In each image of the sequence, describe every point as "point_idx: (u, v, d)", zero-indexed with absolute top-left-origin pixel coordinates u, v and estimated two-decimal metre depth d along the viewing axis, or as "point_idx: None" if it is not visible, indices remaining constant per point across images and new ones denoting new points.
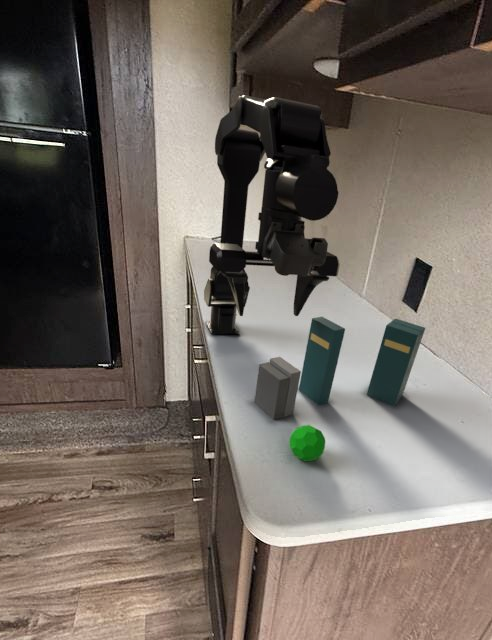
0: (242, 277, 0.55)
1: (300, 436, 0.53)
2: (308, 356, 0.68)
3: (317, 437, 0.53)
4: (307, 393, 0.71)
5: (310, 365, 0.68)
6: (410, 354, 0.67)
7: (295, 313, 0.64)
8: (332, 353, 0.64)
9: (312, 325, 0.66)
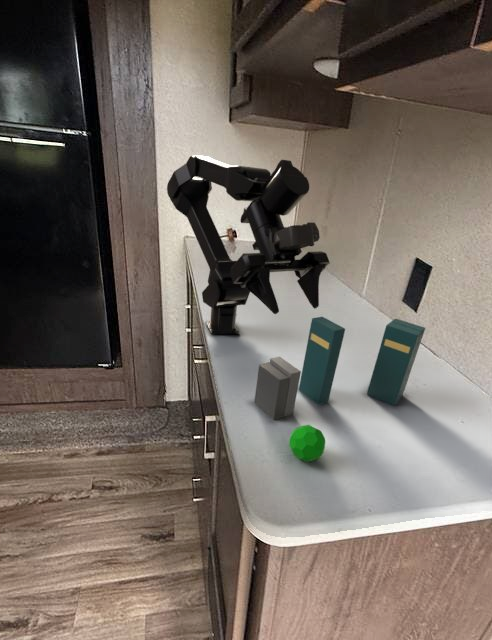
0: (267, 270, 0.65)
1: (300, 436, 0.53)
2: (308, 356, 0.68)
3: (317, 437, 0.53)
4: (307, 393, 0.71)
5: (310, 365, 0.68)
6: (410, 354, 0.67)
7: (315, 305, 0.72)
8: (332, 353, 0.64)
9: (312, 325, 0.66)
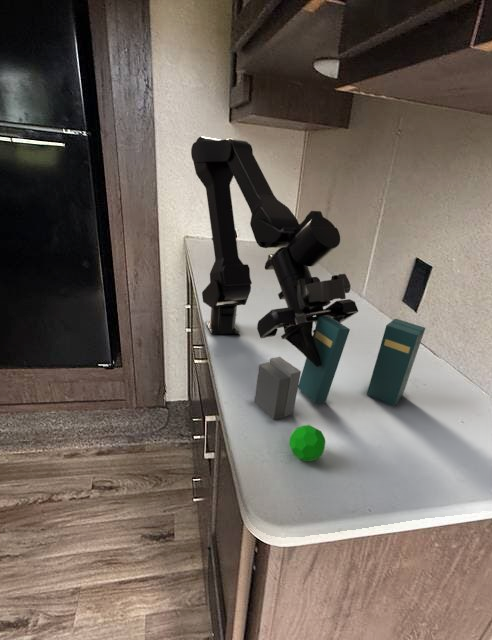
0: (310, 323, 0.64)
1: (300, 436, 0.53)
2: None
3: (317, 437, 0.53)
4: (305, 391, 0.70)
5: (311, 363, 0.69)
6: (410, 354, 0.67)
7: None
8: (334, 352, 0.65)
9: (318, 323, 0.66)
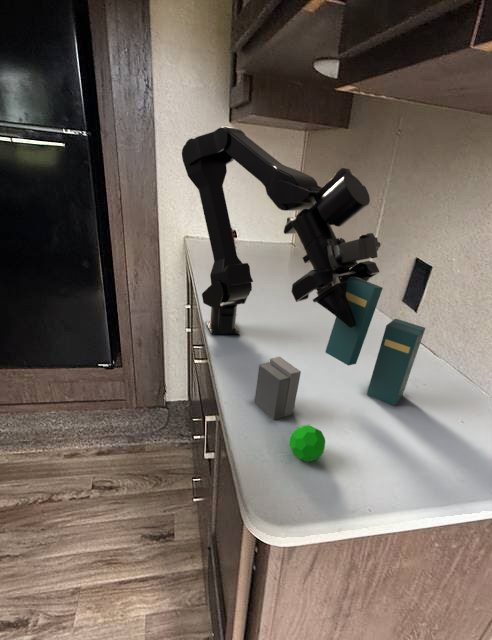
0: (345, 284, 0.64)
1: (300, 436, 0.53)
2: None
3: (317, 437, 0.53)
4: (335, 355, 0.70)
5: (341, 325, 0.69)
6: (410, 354, 0.67)
7: None
8: (368, 312, 0.65)
9: (348, 284, 0.66)
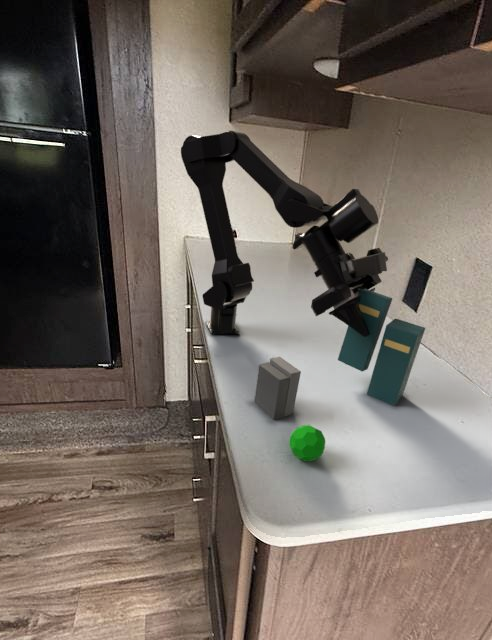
0: (359, 297, 0.68)
1: (300, 436, 0.53)
2: None
3: (317, 437, 0.53)
4: (348, 362, 0.75)
5: (354, 335, 0.73)
6: (410, 354, 0.67)
7: None
8: (381, 321, 0.70)
9: None
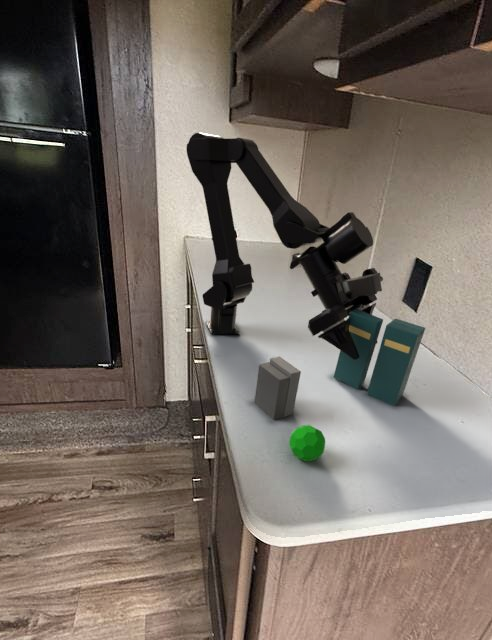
0: (349, 320, 0.67)
1: (300, 436, 0.53)
2: None
3: (317, 437, 0.53)
4: (343, 380, 0.77)
5: None
6: (410, 354, 0.67)
7: None
8: (372, 343, 0.71)
9: None
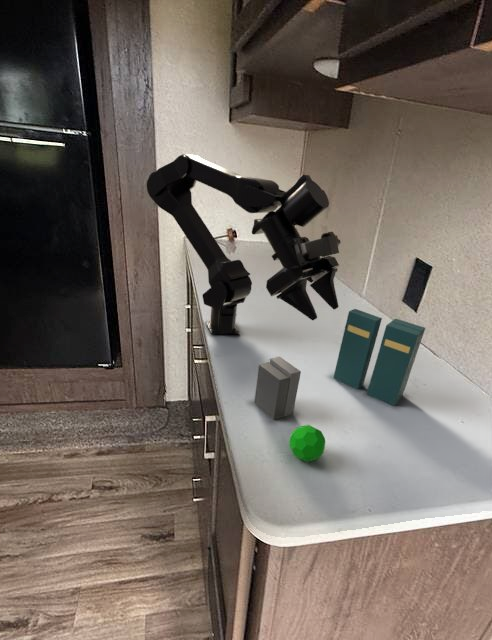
0: (305, 280, 0.69)
1: (300, 436, 0.53)
2: (344, 346, 0.74)
3: (317, 437, 0.53)
4: (343, 380, 0.77)
5: (347, 354, 0.74)
6: (410, 354, 0.67)
7: (335, 306, 0.79)
8: (371, 341, 0.71)
9: (349, 317, 0.72)
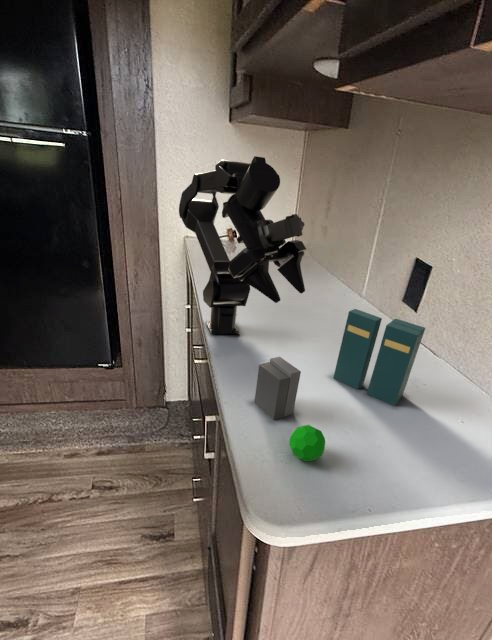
0: (267, 262, 0.69)
1: (300, 436, 0.53)
2: (344, 346, 0.74)
3: (317, 437, 0.53)
4: (343, 380, 0.77)
5: (347, 354, 0.74)
6: (410, 354, 0.67)
7: (302, 290, 0.79)
8: (371, 341, 0.71)
9: (349, 317, 0.72)
